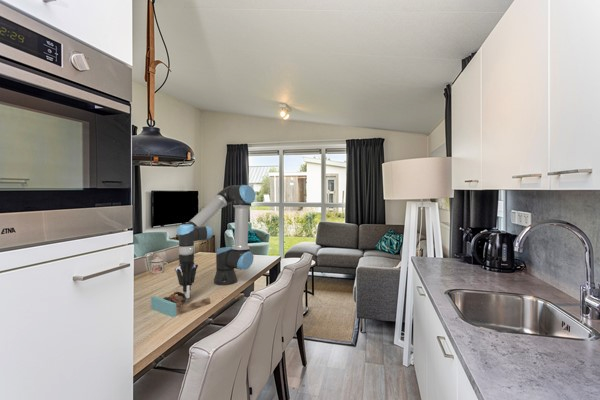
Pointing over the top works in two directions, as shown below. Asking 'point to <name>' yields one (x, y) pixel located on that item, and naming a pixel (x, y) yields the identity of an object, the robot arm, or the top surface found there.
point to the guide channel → (191, 305)
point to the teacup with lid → (157, 265)
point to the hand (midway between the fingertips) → (186, 297)
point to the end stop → (163, 306)
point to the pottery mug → (176, 298)
